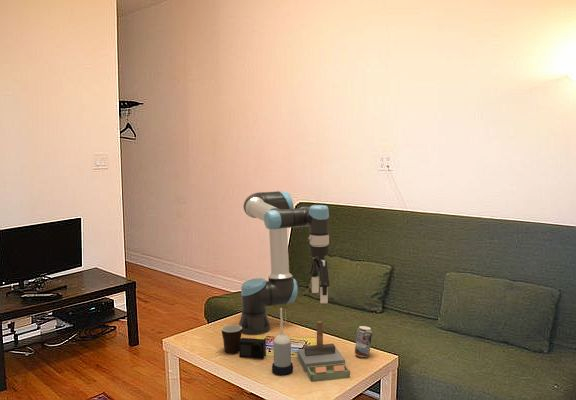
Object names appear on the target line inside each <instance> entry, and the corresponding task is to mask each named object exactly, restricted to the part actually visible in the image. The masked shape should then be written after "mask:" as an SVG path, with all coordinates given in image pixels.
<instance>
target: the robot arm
mask: <svg viewBox="0 0 576 400" xmlns="http://www.w3.org/2000/svg"><path fill="white" fill-rule="evenodd" d="M242 208H243V211H244V212H245V214H246V215H247V216H248V217H250V218H253V219H259V220H260V221H262V222H263V223H264V225H265V228H266V229H268V231H269V249H270V251H269V253H270V254H269V255H270V272H271V273H270V274H269V276H268V278H267V279H268V280H266V279H265V278H261V277H260V278H251V279H249V280H245V281H244V282H243V283H242V284H241V287H240V289H241V290H240V296H241V299H240V300H241V315H240V319H239V322H238V325H239V326H241V327H242V333H241V334H245V335H253V336H254V335H262V334H265V333H268V332H269V331H270V330H271V322H270V319H269V317H268V312H267V307H270V306H271V307H272V306H278V305H279V306H280V305H287V304H291V303H294V302H295V300H296V299H297V296H298V292H299V291H298V282H297V280H296V278H293V274H292V273H290V266H289V265H290V264H289V263H290V262H289V261H290V260H289V243H288V242H289V239H288V229H289V228H304V227H307V228H309V237H308V240H309V255H310V256H311V265H310V271H309V272H310V275H311V293H312V294H316V293H320V294H319V296H320V297H319V300H320V301H319V302H320V304H329V303H328V302H329V301H328V300H329V298H328V297H329V294H328V291H329V290H328V287H330V279H329V271H328V270H329V269H328V260H326V259H325V257H326V256H329V254H330V246H329V244H330V232H329V231H330V228H329V227H330V226H329V225H330V214H329V213H330V212H329V207H328V205H323V204H313V205H311V206H302V207H299V208H295V207H294V201H293V198H292V196H291V193H289V192H287V191H282V190H281V191H279V190H277V191H265V192H261V191H260V192H254V193H252V194H250V195H248V196H247V197H246V198H245V200H244V203H243V205H242ZM319 281H320V284H319ZM319 288H320V289H319Z"/></svg>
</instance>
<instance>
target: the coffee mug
mask: <svg viewBox="0 0 576 400" xmlns="http://www.w3.org/2000/svg"><path fill="white" fill-rule="evenodd" d="M221 334H222V336H221V337H222V343H223V349H224V353H225V354H227V355H235V354H239V341H240V340H241V338H242V334H243V333H242V327H241V326H239V324H228V325H224V326H222V327H221Z"/></svg>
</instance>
